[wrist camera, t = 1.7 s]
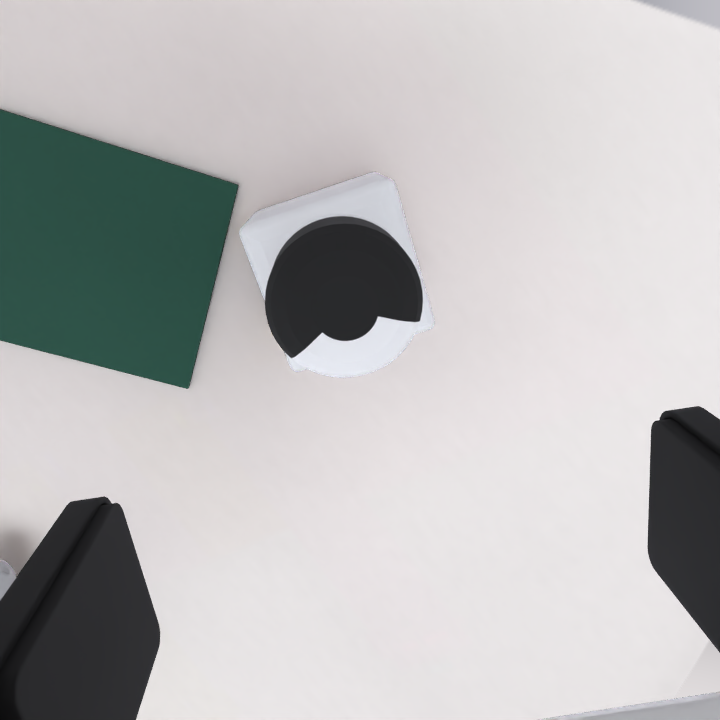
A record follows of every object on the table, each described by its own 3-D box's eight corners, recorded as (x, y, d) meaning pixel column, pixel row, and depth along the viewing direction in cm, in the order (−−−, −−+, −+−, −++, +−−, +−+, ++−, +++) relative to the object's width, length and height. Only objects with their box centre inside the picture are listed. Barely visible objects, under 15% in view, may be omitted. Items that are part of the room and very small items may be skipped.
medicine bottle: (252, 211, 33) (218, 247, 21) (378, 169, 32) (411, 182, 21) (297, 332, 35) (287, 420, 24) (415, 293, 35) (461, 364, 24)
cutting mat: (-64, 321, 34) (-68, 323, 33) (-41, 96, 30) (-45, 95, 30) (189, 386, 36) (187, 389, 35) (238, 184, 32) (238, 185, 32)
